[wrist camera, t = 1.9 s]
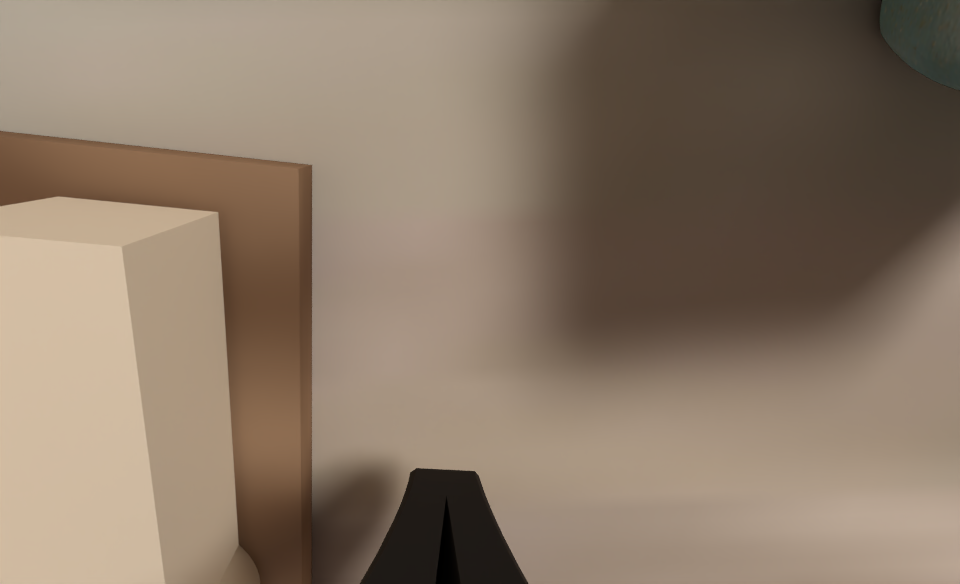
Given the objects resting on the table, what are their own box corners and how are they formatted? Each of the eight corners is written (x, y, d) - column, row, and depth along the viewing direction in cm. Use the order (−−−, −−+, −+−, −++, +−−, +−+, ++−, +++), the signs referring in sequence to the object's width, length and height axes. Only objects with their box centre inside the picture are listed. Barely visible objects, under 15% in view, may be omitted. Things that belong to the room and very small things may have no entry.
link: (262, 636, 13) (195, 821, 10) (111, 633, 13) (-16, 825, 9) (243, 214, 10) (122, 265, 6) (31, 194, 9) (-235, 234, 6)
